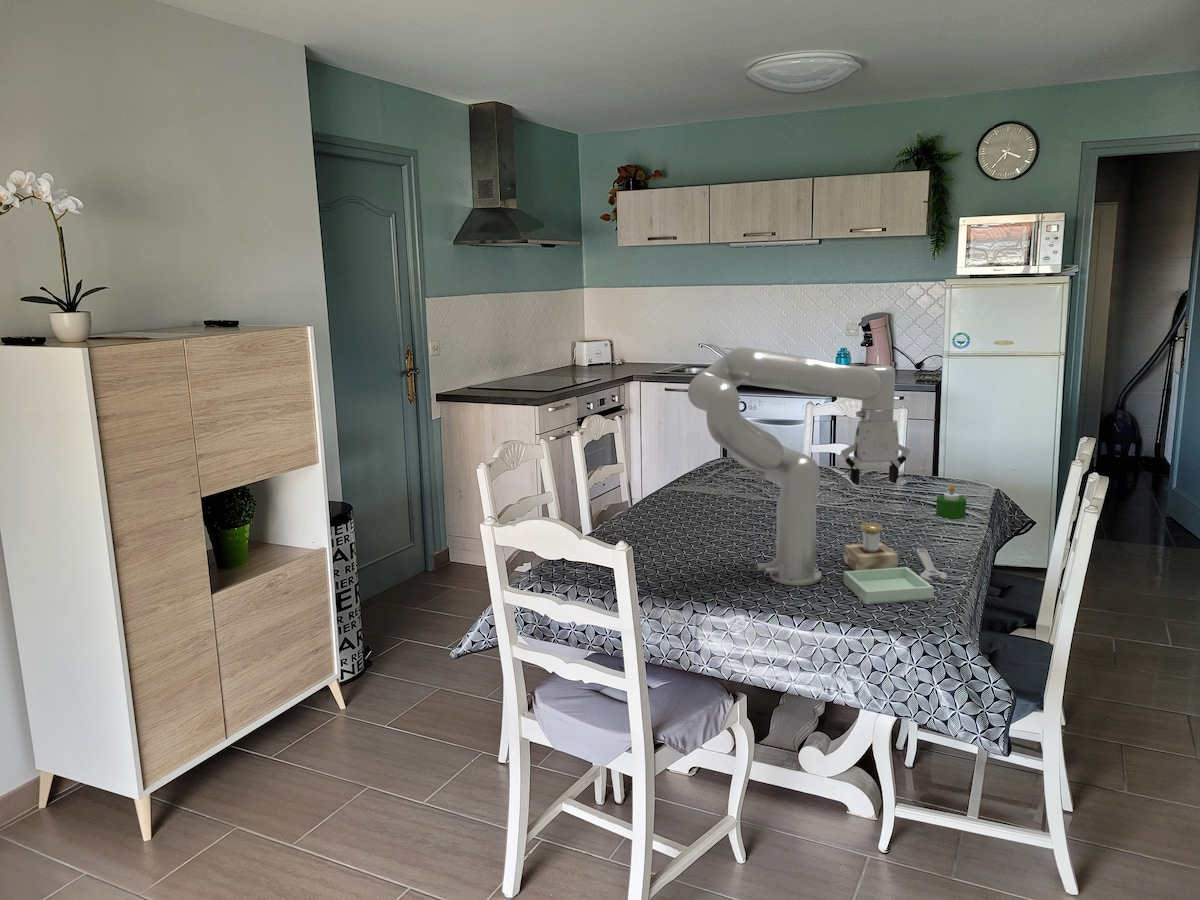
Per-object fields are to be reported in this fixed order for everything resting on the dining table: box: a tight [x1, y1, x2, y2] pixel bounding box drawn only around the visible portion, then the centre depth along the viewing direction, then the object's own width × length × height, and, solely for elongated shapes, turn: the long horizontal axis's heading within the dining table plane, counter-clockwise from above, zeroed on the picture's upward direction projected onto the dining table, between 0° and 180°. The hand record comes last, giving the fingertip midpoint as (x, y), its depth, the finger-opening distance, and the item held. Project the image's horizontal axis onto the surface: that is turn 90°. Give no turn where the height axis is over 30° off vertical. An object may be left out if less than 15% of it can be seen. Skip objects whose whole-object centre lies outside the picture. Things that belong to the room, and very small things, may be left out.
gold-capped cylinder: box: [860, 521, 883, 554], centre depth 224 cm, size 5×5×11 cm
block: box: [843, 542, 899, 571], centre depth 224 cm, size 10×10×4 cm
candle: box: [935, 483, 967, 520], centre depth 265 cm, size 8×8×10 cm
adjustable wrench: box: [915, 547, 948, 585], centre depth 223 cm, size 25×6×2 cm, turn 164°
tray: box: [842, 566, 935, 605], centre depth 208 cm, size 16×14×3 cm
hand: (874, 482), depth 220 cm, fingers open, 9 cm apart
